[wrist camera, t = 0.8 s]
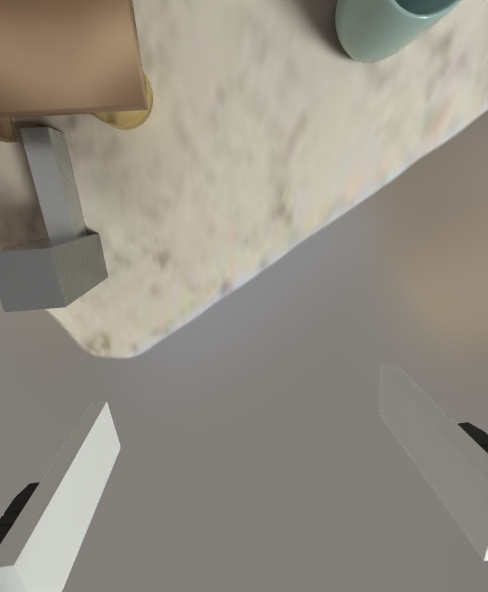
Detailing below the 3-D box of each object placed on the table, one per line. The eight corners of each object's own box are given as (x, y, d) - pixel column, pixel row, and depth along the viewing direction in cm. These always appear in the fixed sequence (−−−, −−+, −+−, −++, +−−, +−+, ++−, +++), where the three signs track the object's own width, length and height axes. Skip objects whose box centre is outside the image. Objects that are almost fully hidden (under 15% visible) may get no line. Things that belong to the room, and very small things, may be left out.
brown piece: (-46, -41, 26) (-204, -180, 16) (144, -47, 26) (99, -185, 17) (6, 142, 30) (-94, 117, 21) (167, 132, 31) (143, 104, 21)
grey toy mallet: (25, 135, 30) (-66, 107, 20) (76, 132, 30) (9, 103, 21) (64, 280, 35) (4, 312, 25) (108, 277, 35) (65, 307, 25)
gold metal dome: (83, 60, 28) (68, 45, 26) (147, 57, 29) (139, 42, 26) (97, 131, 30) (84, 124, 28) (157, 128, 31) (150, 121, 28)
